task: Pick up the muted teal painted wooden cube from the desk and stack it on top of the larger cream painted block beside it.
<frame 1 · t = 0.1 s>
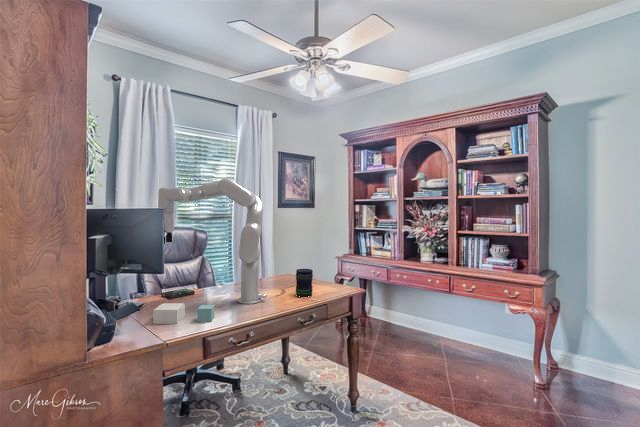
hand: (165, 243, 180), 31 cm above the table, tool pointing down, fingers open, 9 cm apart
cream block: (169, 319, 150), on the table
storage jar: (303, 295, 197), on the table
teal cube: (206, 319, 151), on the table
disk drive: (178, 296, 192), on the table
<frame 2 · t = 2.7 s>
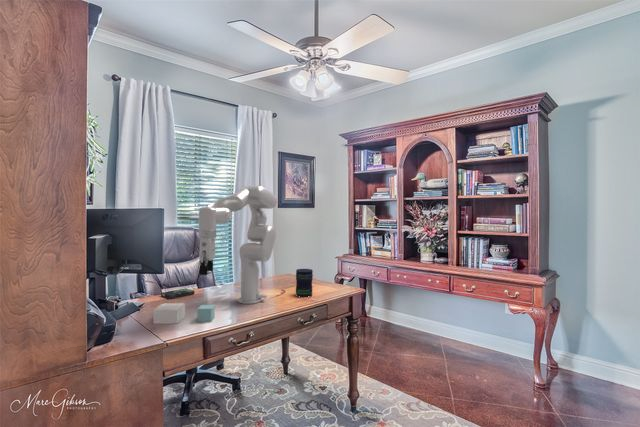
hand: (206, 272, 151), 21 cm above the table, tool pointing down, fingers open, 9 cm apart
nothing on the table moved.
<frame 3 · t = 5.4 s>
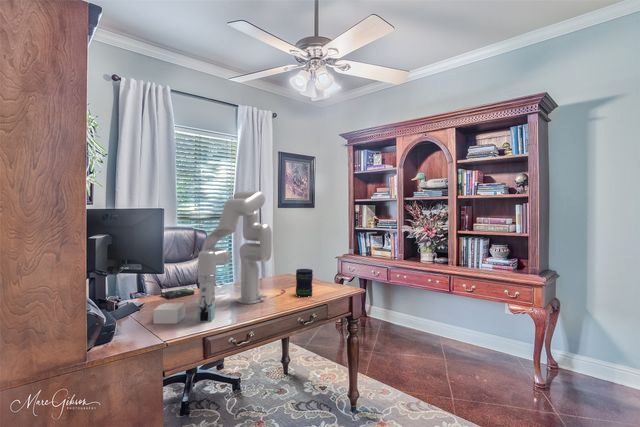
hand: (206, 317, 151), 1 cm above the table, tool pointing down, fingers closed on teal cube, 6 cm apart
teal cube: (206, 319, 151), on the table, touching gripper
everything else where it was.
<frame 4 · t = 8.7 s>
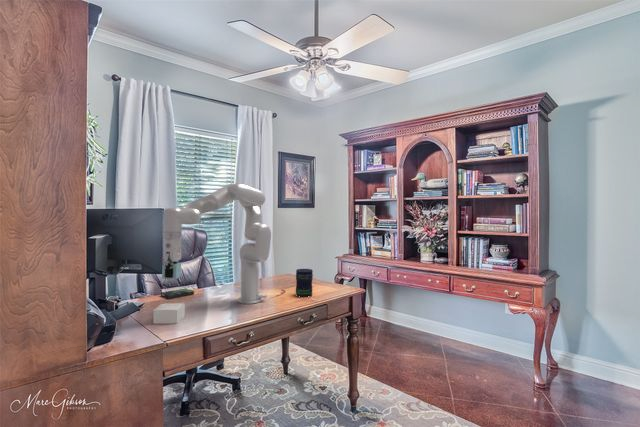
hand: (171, 275, 150), 20 cm above the table, tool pointing down, fingers closed on teal cube, 6 cm apart
teal cube: (171, 277, 150), point 19 cm above the table, touching gripper
everything else where it was.
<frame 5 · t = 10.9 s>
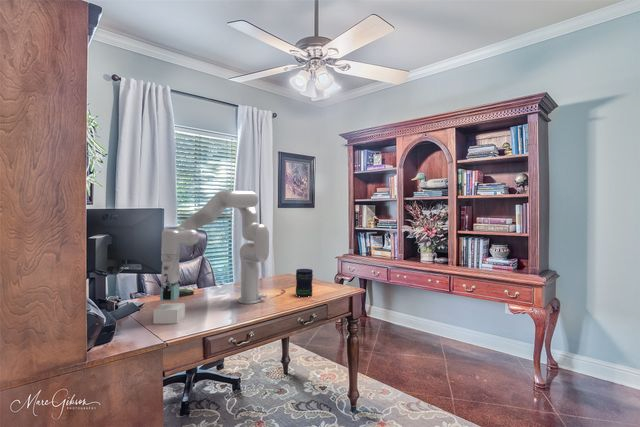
hand: (169, 297, 150), 10 cm above the table, tool pointing down, fingers closed on teal cube, 6 cm apart
teal cube: (169, 299, 150), point 9 cm above the table, touching gripper
everything else where it was.
when the fingers open (8 cm above the table, at t = 12.3 s): teal cube drops 1 cm, resting on cream block.
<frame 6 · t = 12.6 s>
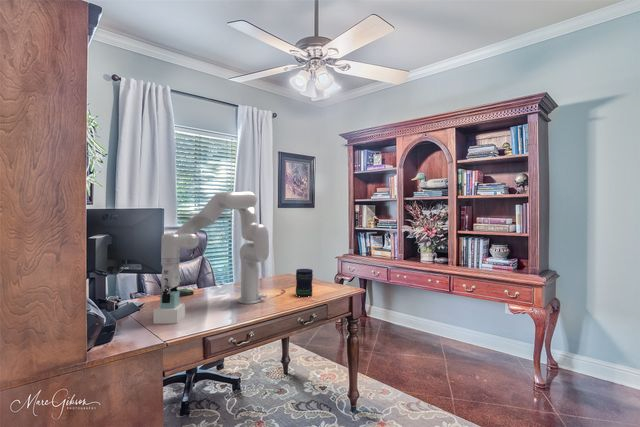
hand: (169, 300, 150), 9 cm above the table, tool pointing down, fingers open, 8 cm apart
teal cube: (170, 306, 150), point 6 cm above the table, touching cream block
everything else where it was.
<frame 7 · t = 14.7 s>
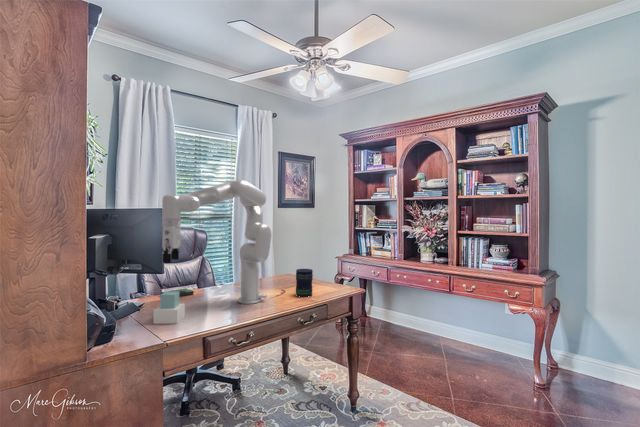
hand: (171, 261, 150), 26 cm above the table, tool pointing down, fingers open, 9 cm apart
nothing on the table moved.
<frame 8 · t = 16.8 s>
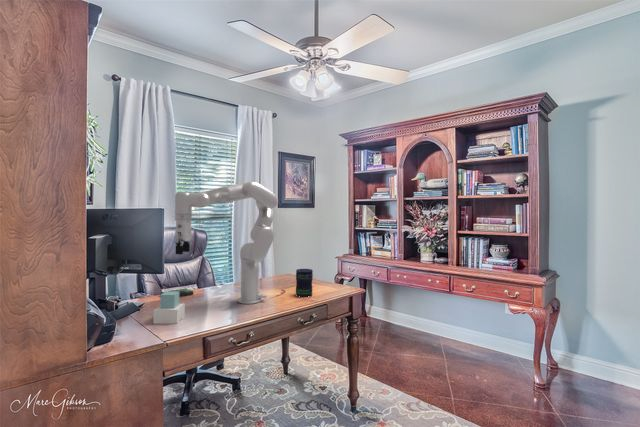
hand: (182, 252, 163), 28 cm above the table, tool pointing down, fingers open, 9 cm apart
nothing on the table moved.
at the end: teal cube 0.1 cm off-centre on the cream block, point 6.0 cm above the cream block's base; teal cube tilted 0°; the gripper is holding nothing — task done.
